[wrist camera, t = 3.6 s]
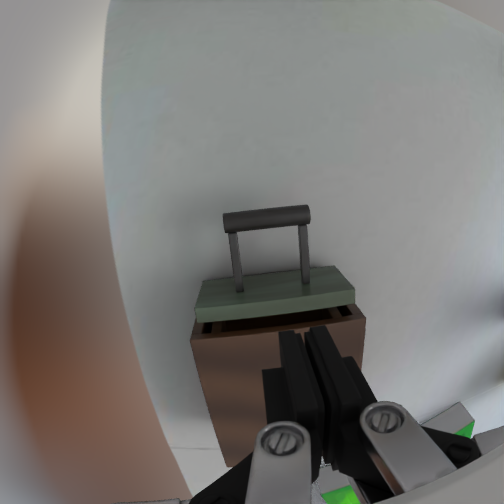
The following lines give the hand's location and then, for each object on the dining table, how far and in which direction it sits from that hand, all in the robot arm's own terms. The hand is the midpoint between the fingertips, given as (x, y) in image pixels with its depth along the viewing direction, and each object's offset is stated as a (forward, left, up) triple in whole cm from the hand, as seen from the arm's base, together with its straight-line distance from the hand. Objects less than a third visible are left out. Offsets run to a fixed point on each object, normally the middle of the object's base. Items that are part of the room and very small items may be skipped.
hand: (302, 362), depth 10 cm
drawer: (+6, -2, -15) cm, 17 cm away
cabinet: (+12, -4, -16) cm, 20 cm away
